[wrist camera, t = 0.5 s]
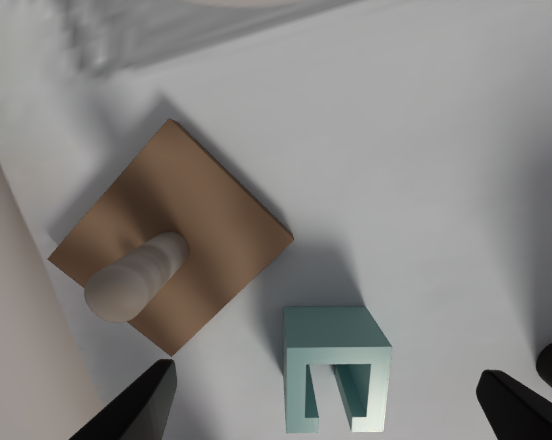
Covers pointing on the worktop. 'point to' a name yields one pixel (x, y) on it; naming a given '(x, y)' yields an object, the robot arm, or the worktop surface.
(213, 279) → the board
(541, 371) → the drinking cup
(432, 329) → the worktop surface
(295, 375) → the collar
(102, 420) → the robot arm
